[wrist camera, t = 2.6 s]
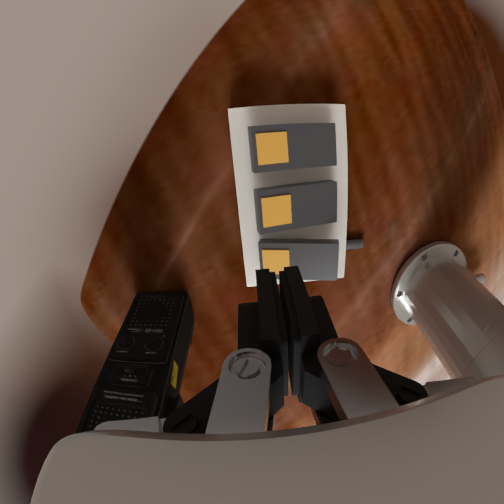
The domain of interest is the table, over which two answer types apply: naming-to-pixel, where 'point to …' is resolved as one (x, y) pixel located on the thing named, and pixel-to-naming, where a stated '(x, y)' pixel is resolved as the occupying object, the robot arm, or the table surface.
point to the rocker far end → (292, 146)
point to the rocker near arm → (301, 256)
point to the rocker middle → (295, 205)
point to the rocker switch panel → (288, 177)
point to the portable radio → (143, 362)
